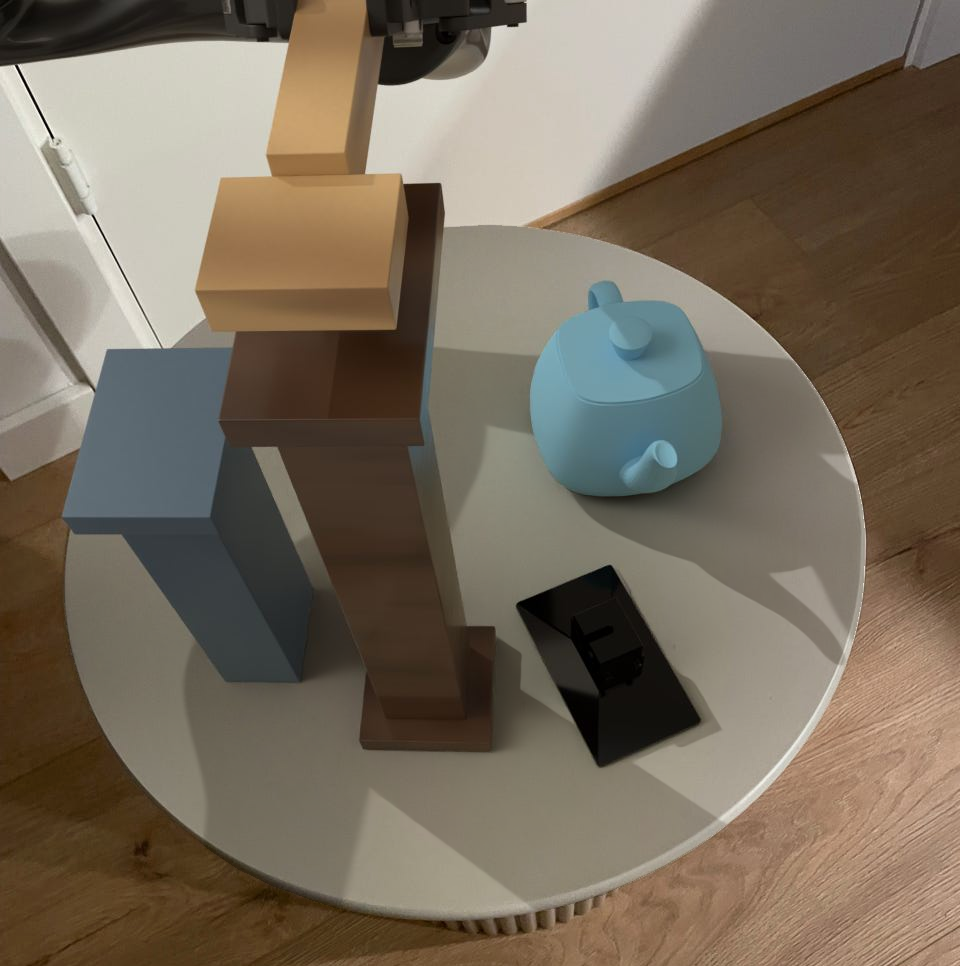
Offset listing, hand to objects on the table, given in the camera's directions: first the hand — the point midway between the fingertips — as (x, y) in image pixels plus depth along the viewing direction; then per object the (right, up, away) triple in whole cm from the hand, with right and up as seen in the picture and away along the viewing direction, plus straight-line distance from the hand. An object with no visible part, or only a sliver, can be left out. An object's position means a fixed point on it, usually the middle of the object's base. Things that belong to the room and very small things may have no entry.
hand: (329, 2), depth 36 cm
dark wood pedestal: (+2, -24, +30) cm, 39 cm away
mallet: (0, -4, +1) cm, 4 cm away
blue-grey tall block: (-9, -22, +32) cm, 40 cm away
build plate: (+13, -24, +30) cm, 40 cm away
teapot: (+16, -9, +37) cm, 41 cm away
